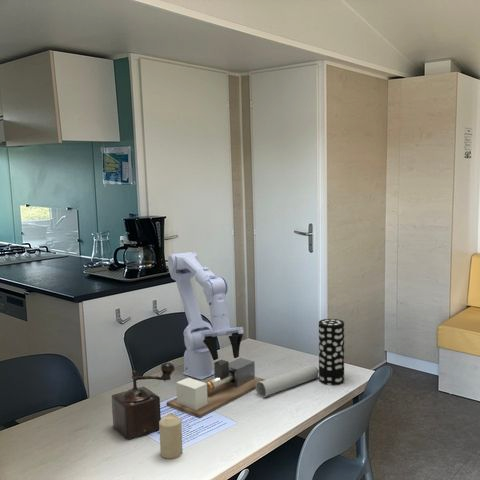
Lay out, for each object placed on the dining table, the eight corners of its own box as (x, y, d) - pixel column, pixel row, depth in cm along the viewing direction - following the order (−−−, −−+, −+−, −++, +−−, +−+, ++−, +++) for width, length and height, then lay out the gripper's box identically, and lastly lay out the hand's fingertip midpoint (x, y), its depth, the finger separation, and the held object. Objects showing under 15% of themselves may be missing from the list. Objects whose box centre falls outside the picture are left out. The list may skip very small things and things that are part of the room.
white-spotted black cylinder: (345, 377, 186) (346, 319, 183) (342, 386, 178) (342, 326, 176) (321, 374, 189) (321, 318, 186) (316, 383, 181) (316, 324, 178)
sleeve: (223, 383, 181) (222, 365, 180) (241, 374, 188) (240, 357, 187) (237, 387, 177) (236, 369, 176) (254, 378, 184) (254, 361, 183)
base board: (166, 405, 167) (166, 402, 167) (235, 373, 192) (234, 370, 192) (199, 417, 159) (199, 414, 158) (267, 382, 183) (267, 380, 183)
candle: (161, 448, 142) (159, 411, 141) (182, 447, 142) (181, 410, 141) (160, 459, 136) (158, 421, 135) (182, 458, 137) (180, 420, 136)
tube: (308, 363, 190) (253, 381, 174) (319, 362, 186) (264, 380, 170) (312, 378, 189) (257, 398, 173) (323, 378, 185) (267, 398, 169)
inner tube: (203, 390, 172) (202, 367, 171) (242, 372, 186) (241, 350, 185) (210, 393, 170) (209, 369, 169) (249, 374, 184) (249, 352, 183)
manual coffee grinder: (128, 441, 146) (125, 376, 143) (112, 426, 155) (108, 365, 152) (179, 424, 155) (177, 363, 152) (161, 411, 164) (158, 352, 161)
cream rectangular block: (177, 403, 167) (176, 382, 166) (188, 397, 170) (188, 377, 169) (195, 410, 161) (195, 388, 161) (207, 404, 165) (206, 383, 164)
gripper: (193, 319, 175) (200, 362, 174) (233, 314, 169) (240, 358, 168) (205, 317, 182) (211, 358, 180) (243, 312, 175) (250, 354, 174)
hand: (225, 358), depth 174 cm, fingers open, 7 cm apart
